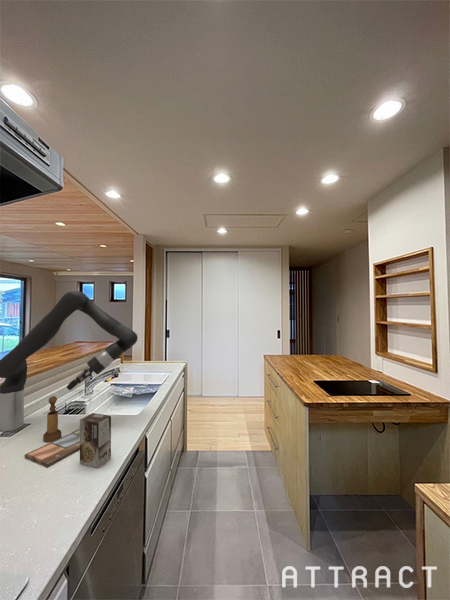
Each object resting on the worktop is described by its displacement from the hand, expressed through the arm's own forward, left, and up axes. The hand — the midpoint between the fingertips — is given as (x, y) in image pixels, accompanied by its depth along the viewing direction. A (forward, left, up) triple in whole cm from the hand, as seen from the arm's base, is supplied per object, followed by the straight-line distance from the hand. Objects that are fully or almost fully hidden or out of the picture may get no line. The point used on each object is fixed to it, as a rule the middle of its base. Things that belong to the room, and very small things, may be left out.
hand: (68, 387), depth 117 cm
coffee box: (+28, -9, -21) cm, 36 cm away
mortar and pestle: (-3, -5, -21) cm, 22 cm away
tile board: (+9, -5, -21) cm, 23 cm away
